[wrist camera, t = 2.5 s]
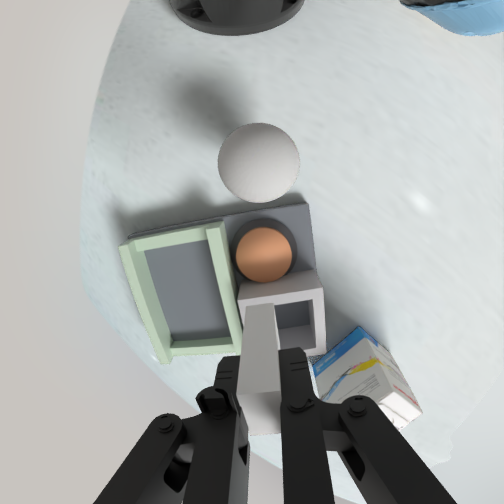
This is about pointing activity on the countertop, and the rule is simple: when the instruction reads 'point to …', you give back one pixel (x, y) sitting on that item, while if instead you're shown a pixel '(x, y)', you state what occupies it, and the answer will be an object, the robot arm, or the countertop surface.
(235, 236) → the compartment tray
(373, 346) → the ink box
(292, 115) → the countertop surface
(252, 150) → the light bulb
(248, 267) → the checker pad
